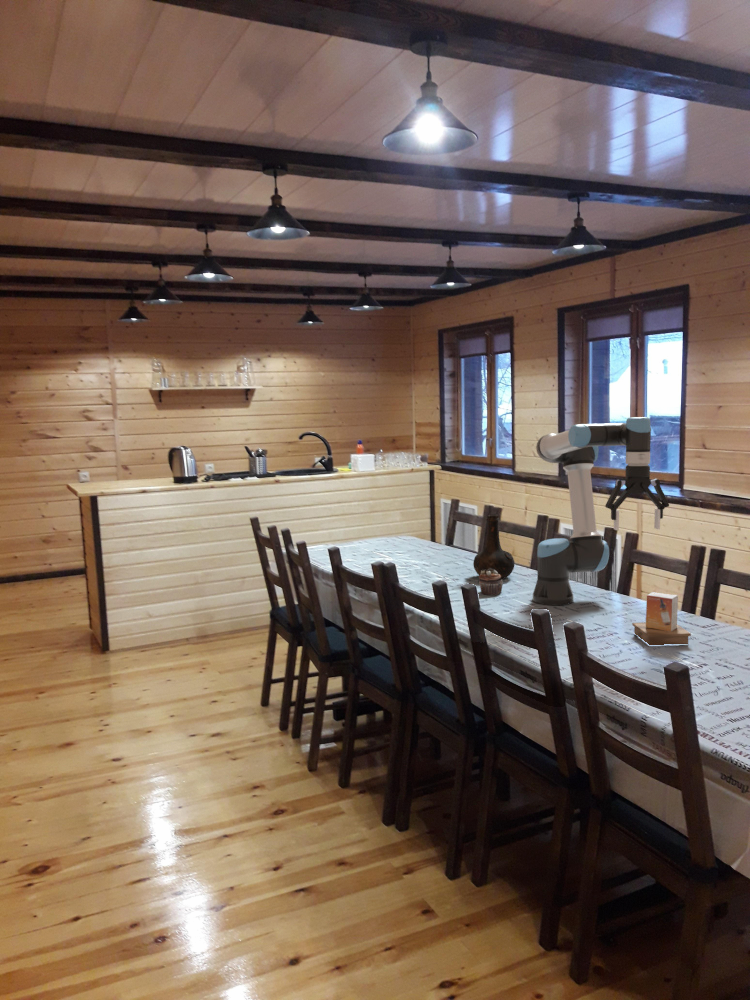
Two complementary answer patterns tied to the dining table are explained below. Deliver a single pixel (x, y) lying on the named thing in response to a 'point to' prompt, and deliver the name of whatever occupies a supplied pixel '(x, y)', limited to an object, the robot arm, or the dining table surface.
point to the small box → (661, 611)
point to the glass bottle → (494, 552)
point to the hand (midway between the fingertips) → (636, 529)
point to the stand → (661, 635)
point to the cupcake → (490, 582)
